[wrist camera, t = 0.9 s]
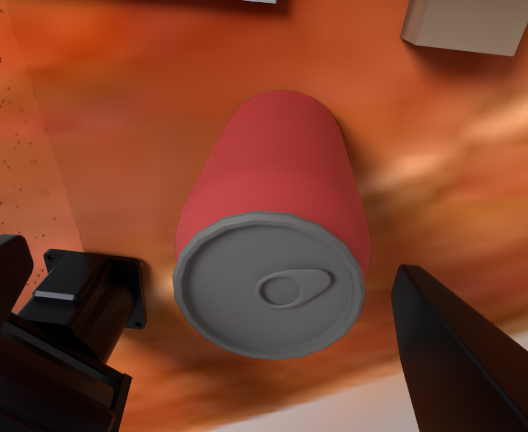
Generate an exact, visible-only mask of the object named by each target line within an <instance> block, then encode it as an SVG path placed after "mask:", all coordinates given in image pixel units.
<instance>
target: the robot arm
mask: <svg viewBox="0 0 528 432" xmlns="http://www.w3.org/2000/svg"><path fill="white" fill-rule="evenodd" d="M43 256H44V261H45V264H46V268H47V271H48V275H47V276H46V277H45V278H44V280H43V281H42V282H41V283H40V284H39V285H38V286H37V288H36V289H35V290H34V291H33V293H32V295H33V296H32V297H31V299H30V300H29V301H28V302H27V303H26V304H25V305H24V307H23V308H22V309H21V310H20V311H19V312H18V314H15V313H13V312H12V309H13V307H14V305H15V303H16V301H17V299H18V298H19V296H20V294H21V292H22V290H23V288H24V287H25V285H26V283H27V281H28V279H29V277H30V275H31V274H32V271H33V267H34V262H33V259H32V256H31V253H30V250H29V247H28V244H27V241H26V239H25V238H24V237H23V236H21V235H14V234H3V235H0V432H118V431H119V427H120V423H121V419H122V416H123V412H124V408H125V404H126V400H127V396H128V392H129V388H130V384H131V380H132V377H131V376H129V375H127V374H125V373H124V374H122V373H120V372H119V371H117V370H115V369H113V368H111V367H110V366H108V365H106V363H107V361H108V359H109V357H110V355H111V353H112V352H113V350H114V348H115V346H116V344H117V342H118V340H119V338H120V336H121V334H122V332H123V330H124V328H133V329H143V328H144V327H145V325H146V323H147V319H146V310H145V302H144V293H143V284H142V276H141V267H140V262H139V261H138V260H137V259H135V258H129V257H120V256H112V255H103V254H94V253H85V252H76V251H67V250H59V249H49V250H47V251H46V252H45V253H44V255H43ZM52 256H53V257H52ZM130 264H131V265H133V266H134V267H133V266H131V265H130ZM391 301H392V308H393V314H394V321H395V328H396V335H397V342H398V349H399V355H400V360H401V364H402V368H403V372H404V376H405V380H406V383H407V387H408V391H409V394H410V398H411V401H412V405H413V409H414V412H415V416H416V420H417V424H418V428H419V431H420V432H528V351H527V350H526V349H524V348H523V347H522V346H520V345H519V344H518V343H517V342H515V341H514V340H513V339H512V338H510V337H509V336H508V335H507V334H505V333H504V332H503V331H502V330H500V329H499V328H498V327H496V326H495V325H494V324H493V323H491V322H490V321H489V320H488V319H486V318H485V317H484V316H483V315H481V314H480V313H479V312H477V311H476V310H475V309H474V308H472V307H471V306H470V305H469V304H467V303H466V302H465V301H464V300H462V299H461V298H460V297H459V296H457V295H456V294H455V293H453V292H452V291H451V290H450V289H448V288H447V287H446V286H445V285H443V284H442V283H441V282H440V281H438V280H437V279H436V278H435V277H433V276H432V275H431V274H429V273H428V272H427V271H426V270H424V269H423V268H422V267H420V266H419V265H412V264H401V265H400V266H399V268H398V271H397V274H396V278H395V281H394V285H393V288H392V293H391Z"/></svg>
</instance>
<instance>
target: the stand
mask: <svg viewBox="0 0 528 432" xmlns="http://www.w3.org/2000/svg"><path fill="white" fill-rule="evenodd" d="M245 1H255V2H266V3H277V0H245Z"/></svg>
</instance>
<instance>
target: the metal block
mask: <svg viewBox="0 0 528 432" xmlns="http://www.w3.org/2000/svg"><path fill="white" fill-rule="evenodd" d="M527 23H528V0H409V4H408V8H407V12H406V16H405V20H404V23H403V27H402V31H401V35H400V38H402V39H404V40H406V41H408V42H410V43H413V44H415V45H420V46H428V47H437V48H445V49H454V50H462V51H471V52H479V53H488V54H497V55H505V56H514V54H515V52H516V49H517V47H518V45H519V42H520V40H521V37H522V35H523V32H524V30H525V28H526V25H527Z"/></svg>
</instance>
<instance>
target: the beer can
mask: <svg viewBox="0 0 528 432" xmlns="http://www.w3.org/2000/svg"><path fill="white" fill-rule="evenodd" d="M174 246H175V256H176V267H175V270H174V273H173V276H172V277H173V286H174V295H175V300H176V302H177V304H178V306H179V308H180V310H181V312H182V313H183V315H184V317H185V319H186V320H187V321H188V322H189V323H190V324H191V325H192V326H193V327H194V328H195V329H196V330H197V331H198V332H199V333H200V334H201V335H202V336H203V337H204V338H206V339H208V340H209V341H211V342H213V343H214V344H216V345H218V346H220V347H221V348H223V349H225V350H227V351H230V352H233V353H237V354H240V355H243V356H246V357H250V358H259V359H269V360H281V359H290V358H298V357H303V356H306V355H309V354H311V353H314V352H317V351H320V350H322V349H325V348H327V347H328V346H330V345H331V344H333V343H334V342H336V341H337V340H338V339H340V338H341V337H343V336H344V335H345V334H347V332H348V331H349V330H350V328H351V327H352V325H353V324H354V323H355V321H356V320H357V319H358V317H359V316H360V313H361V309H362V305H363V301H364V297H365V287H364V284H365V280H366V276H367V271H368V267H369V263H370V256H371V242H370V236H369V230H368V224H367V219H366V216H365V212H364V209H363V205H362V202H361V199H360V195H359V192H358V188H357V185H356V182H355V178H354V175H353V171H352V168H351V165H350V161H349V158H348V154H347V151H346V148H345V144H344V141H343V137H342V134H341V131H340V128H339V126H338V124H337V123H336V121H335V119H334V118H333V116H332V114H331V112H330V111H329V110H327V109H326V108H325V107H324V106H323V105H322V104H320V103H319V102H318V101H317V100H316V99H314V98H312V97H309V96H307V95H304V94H302V93H299V92H297V91H283V90H274V91H270V92H267V93H263V94H259V95H256V96H254V97H253V98H251V99H250V100H248V101H247V102H245V103H244V104H242V105H241V106H239V108H238V109H237V110H236V112H235V113H234V114H233V115H232V117H231V118H230V119H229V121H228V122H227V124H226V126H225V128H224V130H223V132H222V134H221V136H220V138H219V139H218V141H217V143H216V145H215V147H214V149H213V151H212V153H211V155H210V157H209V159H208V160H207V162H206V164H205V166H204V168H203V170H202V172H201V174H200V176H199V178H198V179H197V181H196V183H195V185H194V187H193V189H192V191H191V193H190V195H189V197H188V199H187V200H186V202H185V204H184V206H183V209H182V212H181V216H180V219H179V222H178V226H177V229H176V234H175V244H174Z"/></svg>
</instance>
